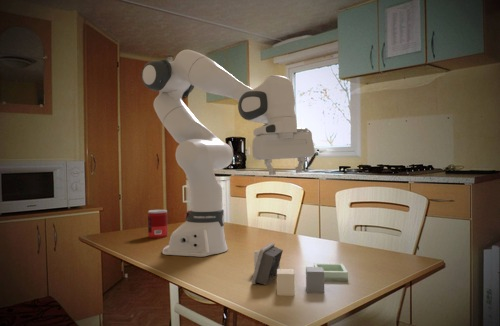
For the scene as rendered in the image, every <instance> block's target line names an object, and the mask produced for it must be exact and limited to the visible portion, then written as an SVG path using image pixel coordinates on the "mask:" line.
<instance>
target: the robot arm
mask: <svg viewBox="0 0 500 326" xmlns="http://www.w3.org/2000/svg"><path fill="white" fill-rule="evenodd" d="M141 80H142V83H143V85H144V86H145V87H146V88H147V89H149V90H151V91H154V92H159V93H158V95H157V96H156V97H155V98H154V100H153V109H154V111H155V113H156V115H157V117H158V119H159V121H160V122H161V123H162V125H163V126H164V128H165V129H166V130H167V131H168V134H170V136H172V139H174V141H175V142H176V143H178V145H177V146H176V149H175V161H176V163H177V165H178V166H179V167H180V169H182V171H184V174H185V176H186V178H187V182H188V185H189V190H190V191H189V192H190V209H189V210H187V211H186V213H185V214H184V218H185V222H183V223H182V224H180V225H179V226H178V228H175V230H174V231H173V232H172V233H171V234H170V237H169V241H168V245H166V246H165V247H163V249H162V254H163V255H164V256H165V255H166V256H167V255H168V256H169V255H171V256H184V257H185V256H186V257H198V258H199V257H201V258H202V257H208V256H211V255H216V254H221V253H224V252H227V251H228V250H229V249H228V245H227V242H226V241H227V240H226V236H225V230H224V229H225V228H224V226H225V211H224V208H223V187H222V186H221V184H220V183H218V180H217V178H216V175H215V171H220V170H223V169H225V168H227V167H229V166H230V165H231V164H232V162H233V160H234V151H233V149H232V147H231V145H229V144H228V143H226V142H224V141H223V140H221V139H220V138H219V137H218V136H216V135H215V134H214V133H213V132H212V131H211V130H209V129H208V127H206V126H205V125H204V124H202V123H201V122H200V120H199V119H197V117H196V116H195V114H194V113H193V112H192V111H191V110H190V109H189V107H188V106H187V104H186V103H185V102H184V101H183V100H184V99H187V98H188V97H189V95H190V93H191V92H192V91H193V90H194V88H196V89H197V90H200V91H201V92H205V93H208V94H212V95H216V96H222V97H226V98H230V99H233V100H235V101H237V102H238V103H237V104H238V105H237V109H238V113H239V115H240V117H241V118H242V119H244V120H246V121H249V122H254V123H259V124H264V125H262V126H259V127H257V128H256V127H255V129H253V136H254V137H253V139H252V145H251V146H252V149H251V150H252V154H251V155H252V157H253V159H254V161H264V166H265V167H266V168H267V169H268V175H269V176H272V175H277V174H276V173H277V172H276V171H277V170H276V169H277V168H273V166H272V164H273V160H285V159H286V160H287V159H297V162H298V164H297V166H295V167H294V169H295V173H303V172H304V171H303V166H304V165H305V162H306V158H312V157H314V155H315V152H316V150H315V146H314V141H313V134H312V131H311V130H310V129H308V128H307V127H303V128H302V127H298V123H297V115H296V111H295V107H296V106H295V105H296V97H295V92H294V85H293V82H292V80H291V79H290V78H288V77H286V76H282V75H270V76H267V77H266V78H265V79H264V81H263V82H261V84H259V85H258V86H257V87H255V88H252V87H250V86H248V85H246V84H245V83H243V82H242V81H240V80H238V79H237V78H236V77H235V76H233V74H231V73H230V72H228V71H227V70H226V69H225V68H224V67H222V66H221V65H219V64H218V63H217V62H216V61H215V60H213V59H211V58H209V56H206V55H204V54H202V53H200V52H198V51H195V50H191V49H183V50H181V51H179V52H178V53H177V54H176V56H175V58H174V60H173V61H168V60H167V59H158V60H151V61H148V62H146V63H145V64H144V66H143V68H142V71H141Z"/></svg>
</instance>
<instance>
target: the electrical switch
mask: <svg viewBox="0 0 500 326" xmlns="http://www.w3.org/2000/svg"><path fill="white" fill-rule="evenodd" d="M259 251H260V252H259V256H258V259H257V263H256V267H255V266H254V271H253V275H252V279H251V284H253V285H254V286H255V285H256V284H257V283H258V284H261V285H264V286H267V285H268V284H269V283H270V282H272V281H273V280H274V278H277V269H278V266H279V263H280V262H281V258H282V255H283V251H284V250H283V249H282V248H278V247H277V246H275V243H274V242H270V243H269V244H267V245H266V246H264V247H261V248H260V250H259ZM274 260H275V262H274ZM273 262H274V263H273ZM280 264H281V263H280Z"/></svg>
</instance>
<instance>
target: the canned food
mask: <svg viewBox="0 0 500 326" xmlns="http://www.w3.org/2000/svg"><path fill="white" fill-rule="evenodd" d="M147 226H148V227H147V229H148V231H147V235H148V238H150V239H162V238H163V237H164V238H166V237H168V209H150V210H148V211H147Z"/></svg>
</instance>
